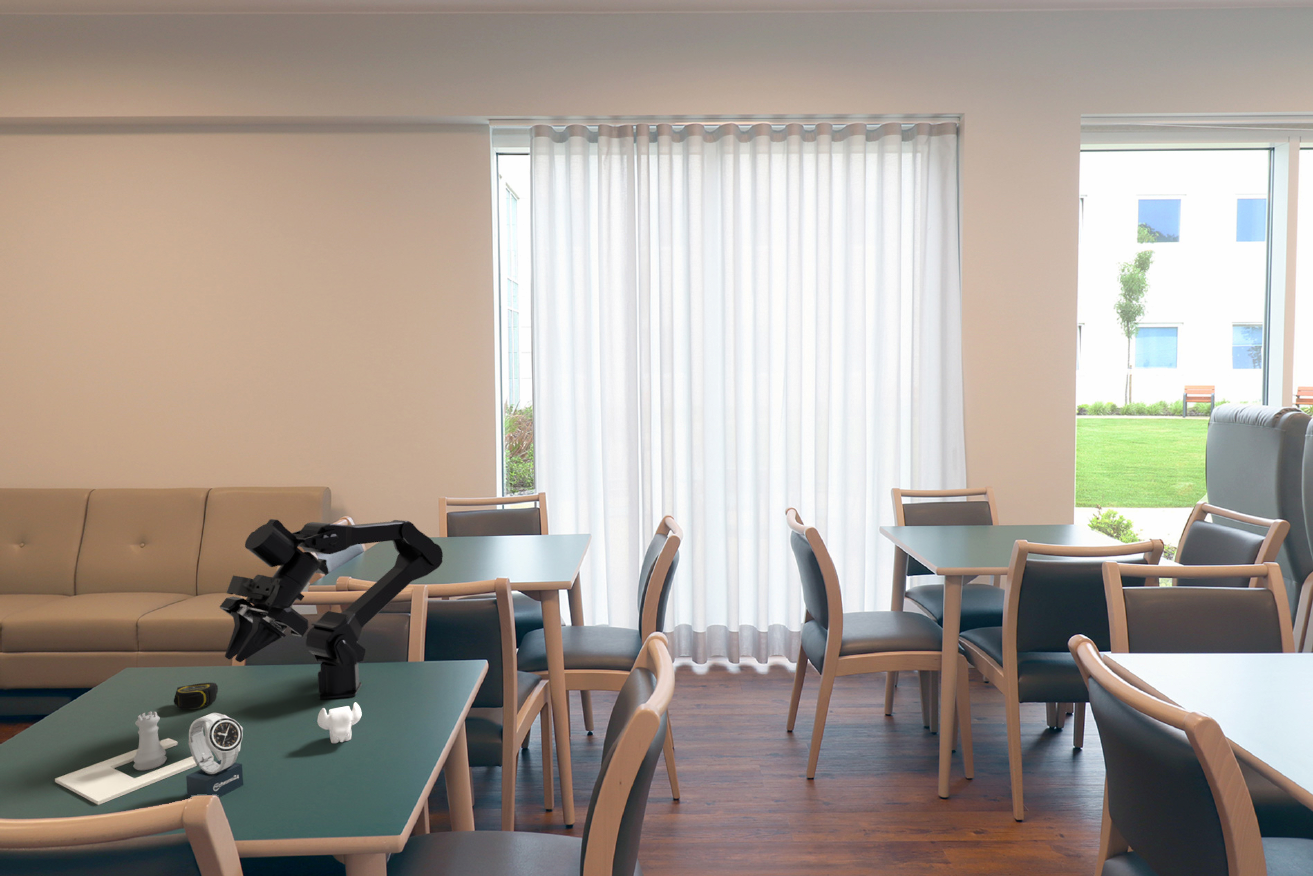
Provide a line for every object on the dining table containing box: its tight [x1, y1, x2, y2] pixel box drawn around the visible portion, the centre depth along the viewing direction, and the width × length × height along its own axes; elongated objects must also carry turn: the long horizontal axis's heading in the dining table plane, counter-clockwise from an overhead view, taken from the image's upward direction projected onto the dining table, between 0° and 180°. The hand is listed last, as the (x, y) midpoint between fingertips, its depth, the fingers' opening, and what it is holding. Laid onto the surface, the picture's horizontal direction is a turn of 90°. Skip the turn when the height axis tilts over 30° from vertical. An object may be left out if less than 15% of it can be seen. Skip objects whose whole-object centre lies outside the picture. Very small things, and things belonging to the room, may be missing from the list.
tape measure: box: [173, 682, 219, 710], centre depth 146 cm, size 7×7×4 cm
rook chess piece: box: [133, 711, 168, 772], centre depth 121 cm, size 4×4×8 cm
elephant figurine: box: [317, 702, 363, 744], centre depth 128 cm, size 7×8×6 cm
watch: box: [185, 712, 244, 798], centre depth 112 cm, size 6×8×11 cm
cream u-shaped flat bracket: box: [54, 737, 215, 806], centre depth 120 cm, size 16×14×1 cm
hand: (232, 659), depth 132 cm, fingers open, 3 cm apart
